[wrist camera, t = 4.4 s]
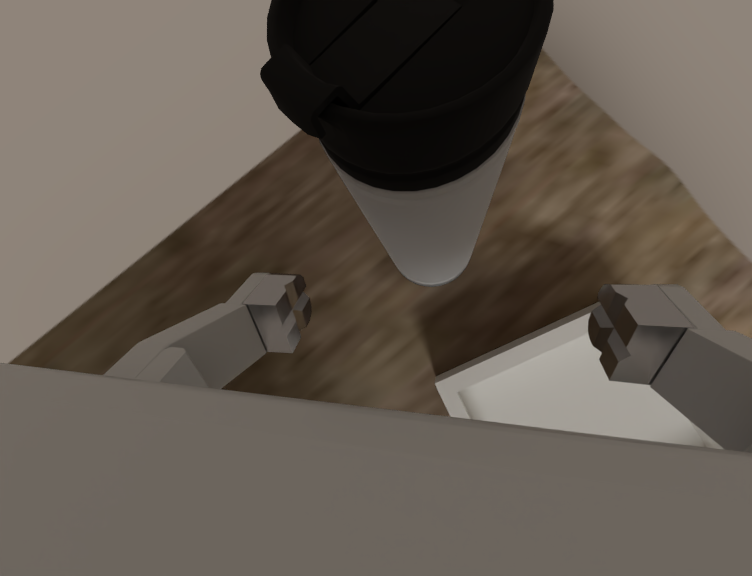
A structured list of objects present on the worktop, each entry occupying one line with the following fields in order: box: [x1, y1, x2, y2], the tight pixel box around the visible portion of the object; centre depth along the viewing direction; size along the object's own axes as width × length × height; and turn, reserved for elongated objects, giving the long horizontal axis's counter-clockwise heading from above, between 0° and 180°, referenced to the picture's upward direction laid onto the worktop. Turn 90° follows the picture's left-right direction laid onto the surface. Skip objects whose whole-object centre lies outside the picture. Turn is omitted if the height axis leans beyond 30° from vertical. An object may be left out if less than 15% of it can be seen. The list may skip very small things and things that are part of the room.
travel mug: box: [260, 0, 553, 287], centre depth 16 cm, size 6×7×20 cm
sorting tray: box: [435, 302, 725, 450], centre depth 20 cm, size 14×14×4 cm
